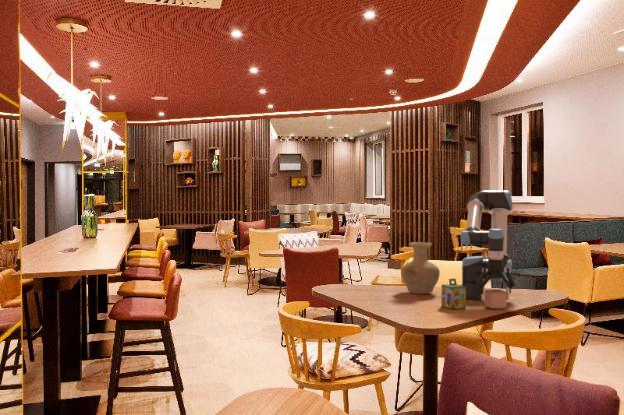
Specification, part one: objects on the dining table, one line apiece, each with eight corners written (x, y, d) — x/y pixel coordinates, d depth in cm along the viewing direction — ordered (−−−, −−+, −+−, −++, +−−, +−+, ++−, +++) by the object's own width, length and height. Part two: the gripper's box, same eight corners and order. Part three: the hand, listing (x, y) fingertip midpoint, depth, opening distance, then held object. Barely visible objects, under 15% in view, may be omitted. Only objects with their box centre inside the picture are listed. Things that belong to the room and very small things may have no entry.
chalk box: (453, 309, 270) (453, 281, 269) (440, 306, 278) (440, 278, 277) (466, 308, 274) (466, 279, 274) (453, 304, 282) (454, 277, 282)
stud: (487, 308, 272) (487, 294, 272) (488, 306, 279) (489, 292, 278) (501, 310, 269) (501, 295, 269) (503, 307, 276) (503, 293, 276)
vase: (397, 295, 309) (397, 244, 308) (404, 289, 330) (405, 241, 329) (436, 298, 301) (437, 245, 300) (441, 291, 322) (442, 242, 321)
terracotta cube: (499, 304, 278) (499, 289, 278) (506, 307, 270) (506, 292, 270) (484, 304, 278) (484, 289, 277) (491, 307, 270) (491, 292, 270)
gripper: (475, 259, 269) (475, 301, 269) (522, 259, 271) (521, 301, 271) (469, 258, 276) (469, 299, 276) (515, 257, 278) (514, 298, 279)
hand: (495, 300), depth 274 cm, fingers open, 12 cm apart
